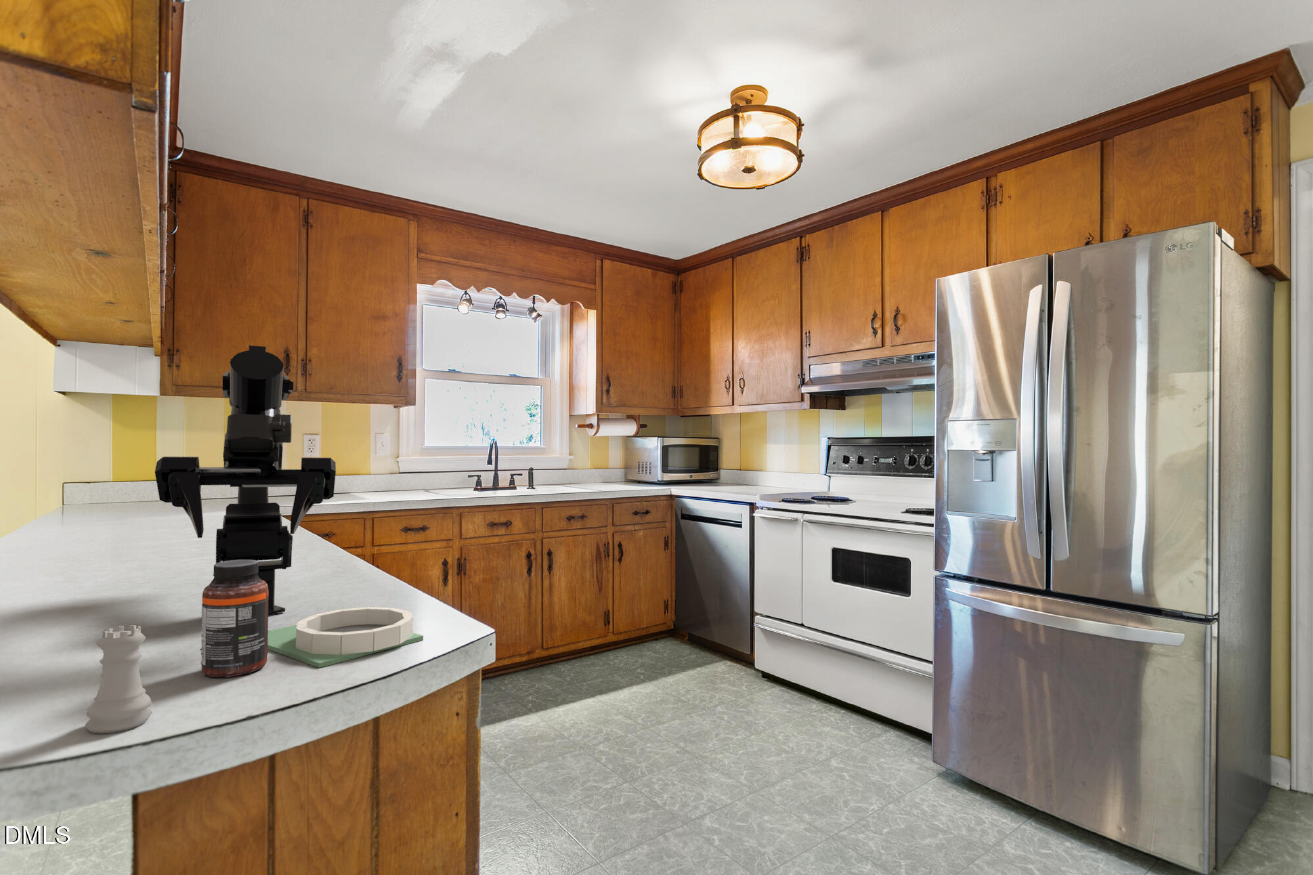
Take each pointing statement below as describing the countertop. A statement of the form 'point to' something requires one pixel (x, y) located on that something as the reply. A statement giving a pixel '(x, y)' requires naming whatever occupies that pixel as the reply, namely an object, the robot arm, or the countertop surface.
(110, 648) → the rook chess piece
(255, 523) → the robot arm
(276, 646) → the putting mat
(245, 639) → the supplement bottle
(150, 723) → the countertop surface
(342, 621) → the round cream tray
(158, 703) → the countertop surface
